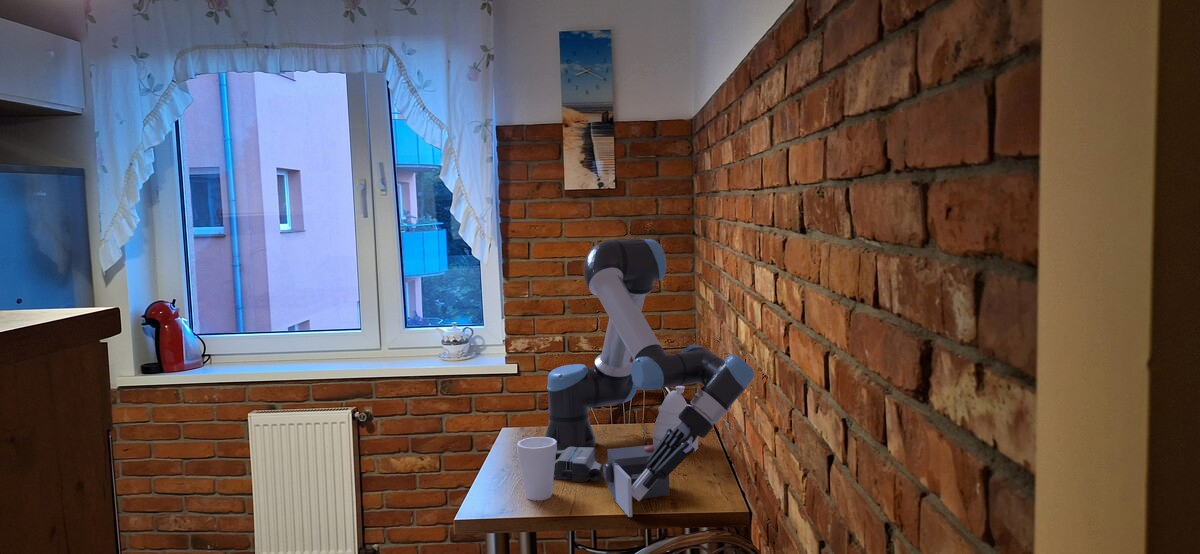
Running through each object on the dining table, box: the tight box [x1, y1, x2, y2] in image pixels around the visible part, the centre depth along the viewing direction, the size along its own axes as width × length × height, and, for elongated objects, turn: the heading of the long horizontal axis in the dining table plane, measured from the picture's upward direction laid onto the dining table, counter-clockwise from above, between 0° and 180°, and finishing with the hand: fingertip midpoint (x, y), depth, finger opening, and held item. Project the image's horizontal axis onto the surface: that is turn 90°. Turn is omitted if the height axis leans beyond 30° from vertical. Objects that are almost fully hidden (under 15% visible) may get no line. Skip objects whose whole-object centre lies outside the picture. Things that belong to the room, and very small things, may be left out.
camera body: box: [602, 444, 670, 500], centre depth 174 cm, size 8×15×11 cm, turn 102°
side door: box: [614, 463, 633, 518], centre depth 164 cm, size 1×10×9 cm, turn 16°
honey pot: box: [652, 385, 699, 452], centre depth 209 cm, size 13×13×18 cm
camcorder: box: [554, 447, 603, 483], centre depth 190 cm, size 16×20×5 cm
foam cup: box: [516, 436, 557, 501], centre depth 175 cm, size 10×9×13 cm
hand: (633, 495), depth 162 cm, fingers closed, pressing on side door
